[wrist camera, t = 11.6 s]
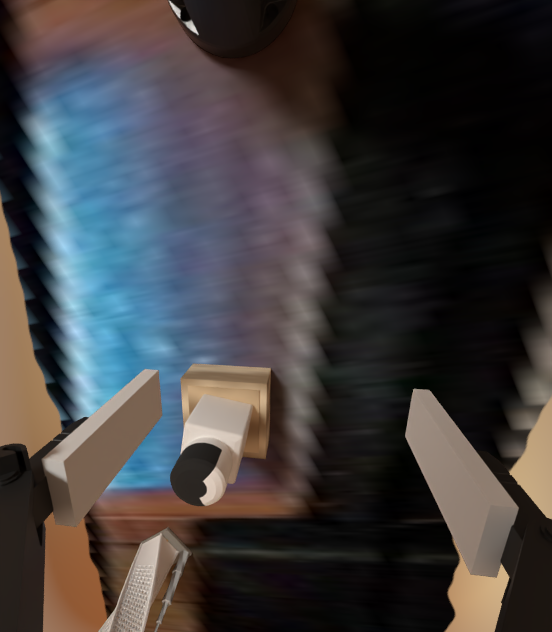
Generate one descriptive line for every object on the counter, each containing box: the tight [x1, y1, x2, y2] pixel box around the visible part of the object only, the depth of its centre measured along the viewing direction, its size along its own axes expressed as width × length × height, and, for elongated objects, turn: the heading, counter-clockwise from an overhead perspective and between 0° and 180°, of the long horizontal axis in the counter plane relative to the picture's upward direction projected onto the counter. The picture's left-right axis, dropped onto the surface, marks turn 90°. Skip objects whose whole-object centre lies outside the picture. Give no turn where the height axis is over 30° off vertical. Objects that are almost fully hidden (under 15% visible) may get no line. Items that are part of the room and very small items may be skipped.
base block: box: [181, 364, 271, 459], centre depth 46 cm, size 12×12×5 cm
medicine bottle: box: [170, 394, 253, 506], centre depth 37 cm, size 7×7×12 cm
